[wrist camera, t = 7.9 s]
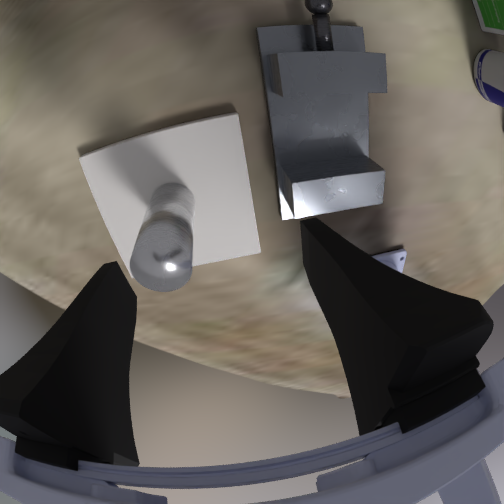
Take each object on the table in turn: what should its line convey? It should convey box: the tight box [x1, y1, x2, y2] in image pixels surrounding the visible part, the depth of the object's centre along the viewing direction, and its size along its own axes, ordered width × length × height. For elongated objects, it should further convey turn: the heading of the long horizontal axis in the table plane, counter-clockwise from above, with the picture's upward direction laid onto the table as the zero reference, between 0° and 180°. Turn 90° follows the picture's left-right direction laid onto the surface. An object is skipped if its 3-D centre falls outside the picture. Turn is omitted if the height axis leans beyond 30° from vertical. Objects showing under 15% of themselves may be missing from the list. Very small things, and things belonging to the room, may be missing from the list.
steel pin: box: [130, 183, 195, 292], centre depth 17 cm, size 3×3×7 cm
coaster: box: [79, 112, 261, 278], centre depth 20 cm, size 11×11×1 cm
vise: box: [256, 0, 387, 220], centre depth 16 cm, size 16×7×4 cm, turn 8°
